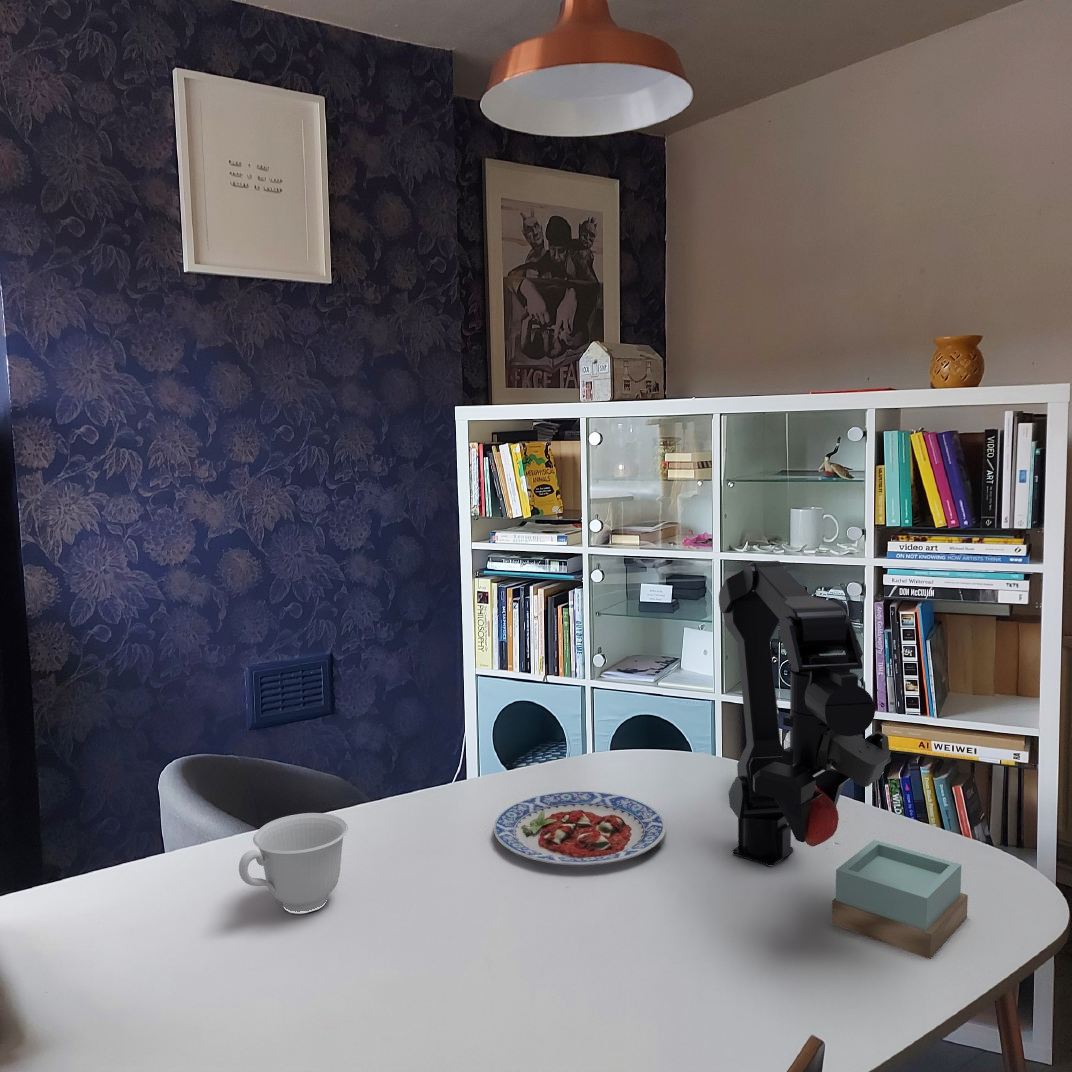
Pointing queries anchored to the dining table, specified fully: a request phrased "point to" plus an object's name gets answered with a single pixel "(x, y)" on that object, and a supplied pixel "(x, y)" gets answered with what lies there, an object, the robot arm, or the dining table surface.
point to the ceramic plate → (579, 828)
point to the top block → (899, 884)
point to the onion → (821, 820)
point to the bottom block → (902, 927)
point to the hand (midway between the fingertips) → (813, 833)
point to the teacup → (298, 858)
